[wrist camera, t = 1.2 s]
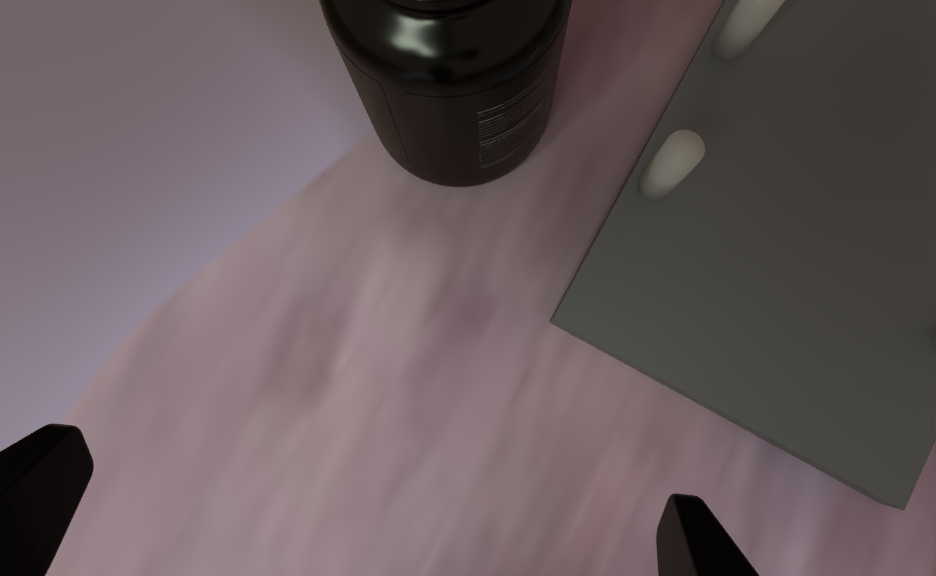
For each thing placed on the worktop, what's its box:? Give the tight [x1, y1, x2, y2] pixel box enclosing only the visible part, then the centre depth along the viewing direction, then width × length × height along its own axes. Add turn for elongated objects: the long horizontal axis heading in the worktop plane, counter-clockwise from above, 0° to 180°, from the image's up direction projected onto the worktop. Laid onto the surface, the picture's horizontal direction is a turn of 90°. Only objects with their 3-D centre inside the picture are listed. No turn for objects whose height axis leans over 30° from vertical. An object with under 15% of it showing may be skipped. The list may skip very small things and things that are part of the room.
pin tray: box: [550, 0, 936, 510], centre depth 21 cm, size 18×13×5 cm
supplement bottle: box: [319, 0, 572, 187], centre depth 19 cm, size 7×7×12 cm
